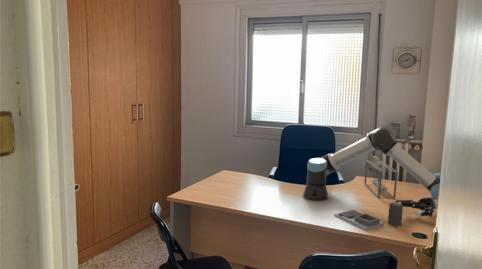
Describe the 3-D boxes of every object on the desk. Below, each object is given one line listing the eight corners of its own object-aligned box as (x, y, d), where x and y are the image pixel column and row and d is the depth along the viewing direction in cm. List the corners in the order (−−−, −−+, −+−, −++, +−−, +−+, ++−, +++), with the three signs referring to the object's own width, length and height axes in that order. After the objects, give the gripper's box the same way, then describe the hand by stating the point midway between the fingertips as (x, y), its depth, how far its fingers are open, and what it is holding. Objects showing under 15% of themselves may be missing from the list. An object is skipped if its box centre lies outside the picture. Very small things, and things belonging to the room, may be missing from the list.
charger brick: (387, 223, 190) (389, 202, 188) (392, 222, 192) (394, 201, 190) (396, 227, 186) (398, 205, 184) (401, 225, 188) (403, 204, 186)
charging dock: (333, 216, 199) (334, 209, 198) (352, 211, 206) (352, 205, 205) (365, 230, 181) (365, 223, 180) (383, 224, 188) (384, 218, 188)
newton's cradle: (363, 184, 257) (365, 159, 254) (379, 185, 257) (381, 160, 254) (378, 199, 227) (380, 171, 224) (395, 199, 227) (398, 171, 224)
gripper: (450, 218, 192) (426, 226, 181) (407, 203, 213) (383, 210, 202) (451, 204, 191) (427, 211, 180) (408, 190, 212) (384, 196, 200)
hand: (404, 210), depth 191 cm, fingers open, 13 cm apart
